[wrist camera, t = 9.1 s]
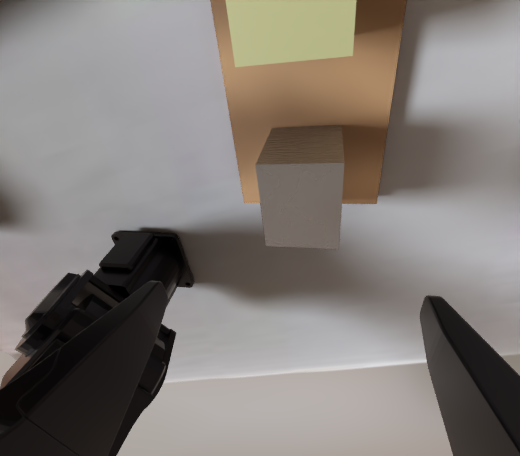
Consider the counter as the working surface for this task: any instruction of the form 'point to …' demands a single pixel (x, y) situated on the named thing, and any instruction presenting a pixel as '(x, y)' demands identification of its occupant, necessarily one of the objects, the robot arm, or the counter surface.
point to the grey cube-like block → (302, 186)
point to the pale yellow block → (290, 30)
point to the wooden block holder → (319, 97)
